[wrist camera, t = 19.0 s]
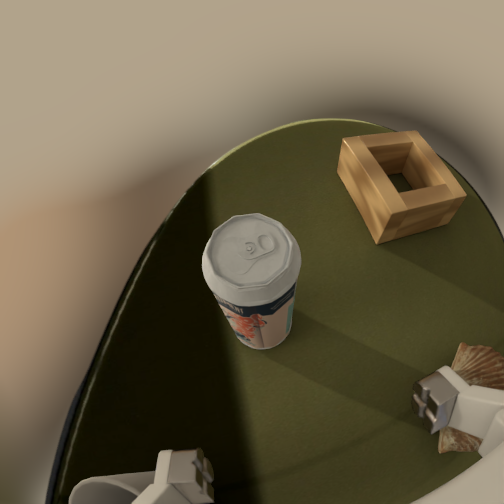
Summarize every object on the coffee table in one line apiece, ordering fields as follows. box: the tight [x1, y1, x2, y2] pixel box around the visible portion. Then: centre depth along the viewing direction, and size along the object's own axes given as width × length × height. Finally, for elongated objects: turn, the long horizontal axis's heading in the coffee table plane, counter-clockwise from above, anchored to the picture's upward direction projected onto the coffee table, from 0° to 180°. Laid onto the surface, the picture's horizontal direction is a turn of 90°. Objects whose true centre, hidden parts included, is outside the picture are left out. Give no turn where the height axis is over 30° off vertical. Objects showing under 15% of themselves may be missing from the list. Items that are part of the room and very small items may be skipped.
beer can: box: [202, 213, 301, 349], centre depth 18 cm, size 5×5×12 cm
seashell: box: [438, 342, 504, 453], centre depth 15 cm, size 9×7×8 cm
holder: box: [337, 131, 467, 244], centre depth 27 cm, size 10×10×5 cm
